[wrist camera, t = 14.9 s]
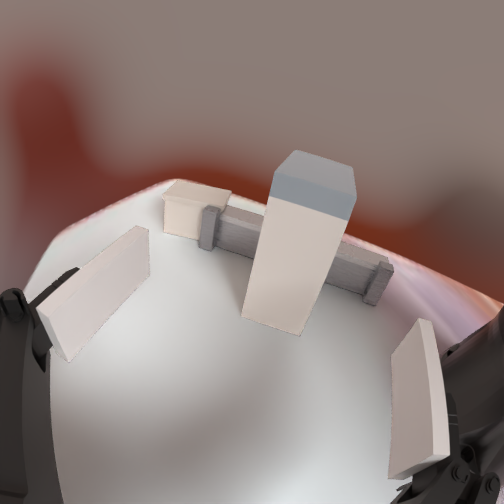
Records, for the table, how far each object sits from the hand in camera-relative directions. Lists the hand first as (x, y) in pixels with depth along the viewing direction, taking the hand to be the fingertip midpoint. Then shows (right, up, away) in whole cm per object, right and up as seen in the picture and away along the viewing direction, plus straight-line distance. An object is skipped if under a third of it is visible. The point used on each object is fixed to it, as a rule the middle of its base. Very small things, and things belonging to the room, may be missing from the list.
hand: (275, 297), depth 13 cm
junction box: (-8, +4, +20) cm, 22 cm away
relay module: (+2, -2, +13) cm, 13 cm away
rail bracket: (+3, 0, +17) cm, 18 cm away
